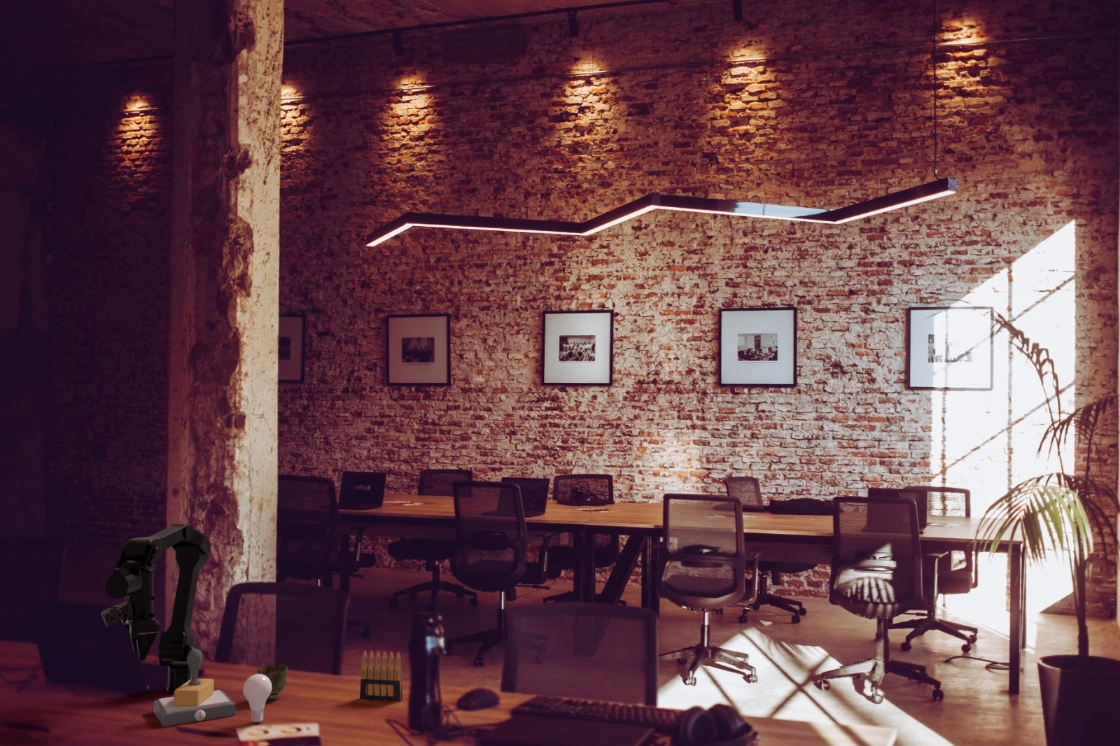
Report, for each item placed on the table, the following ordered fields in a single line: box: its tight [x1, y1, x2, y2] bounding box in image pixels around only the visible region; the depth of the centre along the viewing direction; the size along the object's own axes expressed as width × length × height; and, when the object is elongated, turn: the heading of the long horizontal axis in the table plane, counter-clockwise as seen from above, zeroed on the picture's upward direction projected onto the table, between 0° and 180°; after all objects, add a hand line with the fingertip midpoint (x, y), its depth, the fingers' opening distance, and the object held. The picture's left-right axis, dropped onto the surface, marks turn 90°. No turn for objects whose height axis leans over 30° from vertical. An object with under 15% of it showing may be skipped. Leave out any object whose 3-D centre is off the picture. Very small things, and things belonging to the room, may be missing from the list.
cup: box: [256, 663, 289, 702], centre depth 239 cm, size 8×7×8 cm
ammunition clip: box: [359, 650, 403, 703], centre depth 238 cm, size 11×2×12 cm, turn 80°
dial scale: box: [153, 689, 236, 728], centre depth 227 cm, size 14×16×3 cm
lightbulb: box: [242, 673, 272, 724], centre depth 220 cm, size 6×6×11 cm
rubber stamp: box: [173, 648, 215, 706], centre depth 227 cm, size 10×6×12 cm, turn 179°
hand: (139, 656), depth 229 cm, fingers open, 9 cm apart
